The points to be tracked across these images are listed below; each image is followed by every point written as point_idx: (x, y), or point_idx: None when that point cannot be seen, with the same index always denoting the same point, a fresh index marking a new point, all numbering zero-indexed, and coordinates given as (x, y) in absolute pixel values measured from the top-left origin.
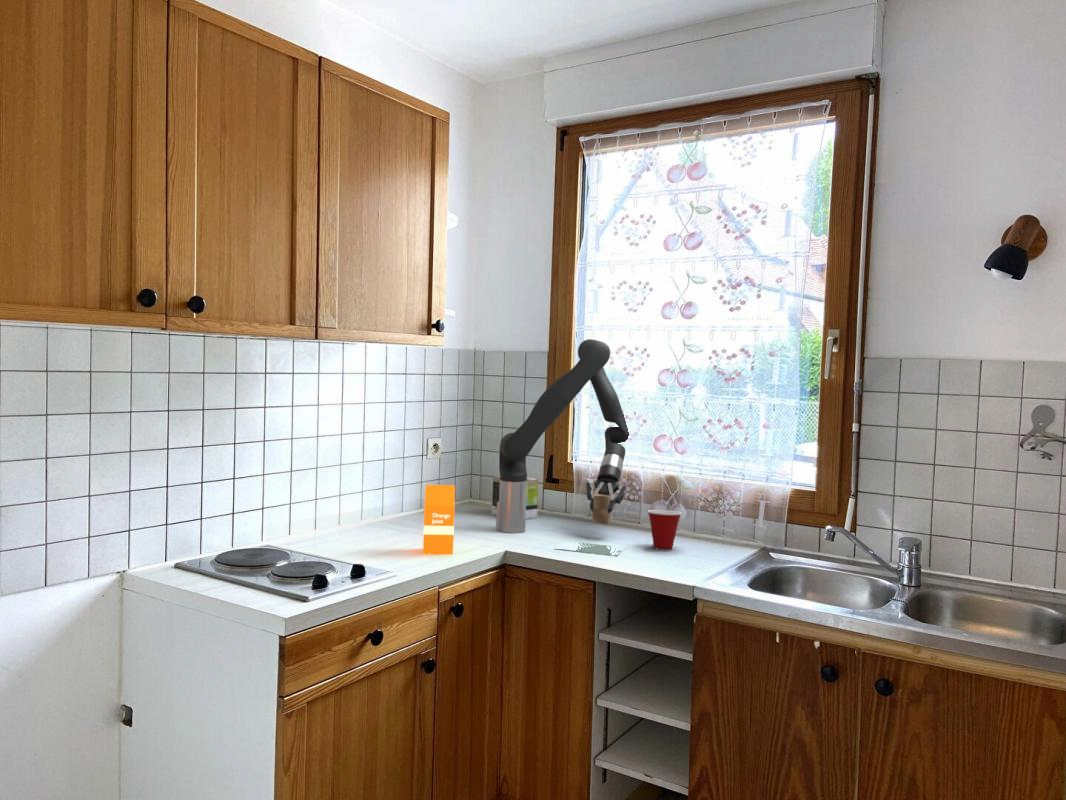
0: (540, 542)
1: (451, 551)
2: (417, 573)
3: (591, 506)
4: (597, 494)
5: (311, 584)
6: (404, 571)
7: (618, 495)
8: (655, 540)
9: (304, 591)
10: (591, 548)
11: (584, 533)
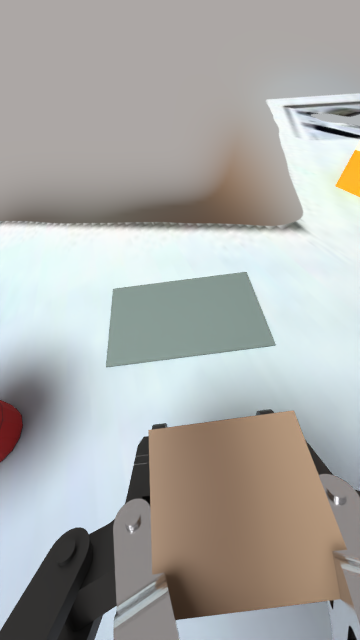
0: (310, 306)
1: (339, 179)
2: (289, 145)
3: (271, 411)
4: (317, 528)
5: (321, 113)
6: (305, 143)
7: (47, 611)
8: (1, 402)
9: (307, 109)
10: (179, 312)
11: None
